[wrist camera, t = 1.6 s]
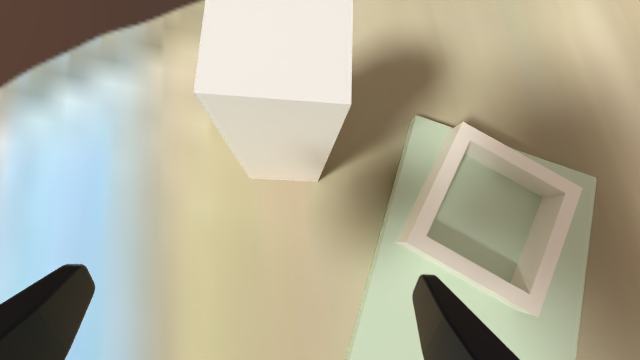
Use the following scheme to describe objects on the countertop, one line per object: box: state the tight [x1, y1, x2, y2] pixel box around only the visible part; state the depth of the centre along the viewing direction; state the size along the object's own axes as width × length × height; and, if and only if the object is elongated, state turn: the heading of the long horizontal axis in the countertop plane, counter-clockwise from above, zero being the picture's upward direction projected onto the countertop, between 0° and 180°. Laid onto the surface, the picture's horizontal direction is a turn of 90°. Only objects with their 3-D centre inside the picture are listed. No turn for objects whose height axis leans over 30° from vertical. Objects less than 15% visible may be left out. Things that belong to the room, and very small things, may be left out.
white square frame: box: [396, 122, 583, 317], centre depth 21 cm, size 10×10×2 cm
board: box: [346, 115, 597, 360], centre depth 22 cm, size 20×15×1 cm
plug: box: [194, 0, 353, 182], centre depth 17 cm, size 5×5×13 cm
